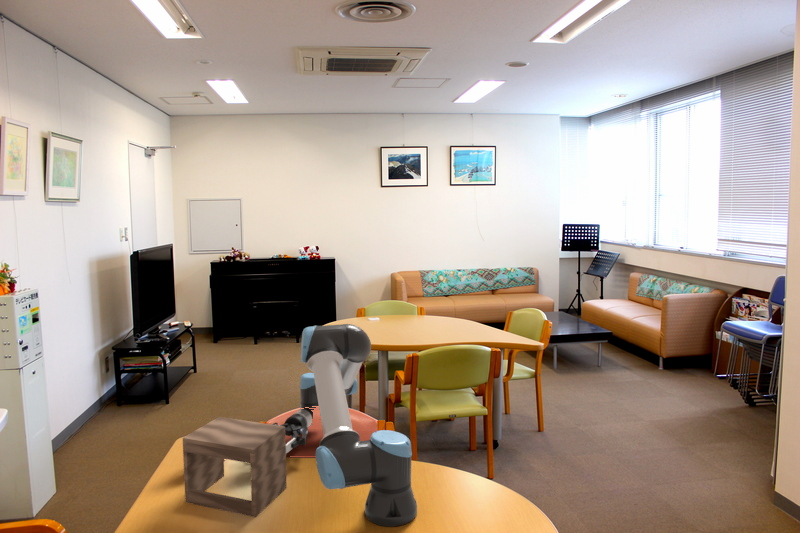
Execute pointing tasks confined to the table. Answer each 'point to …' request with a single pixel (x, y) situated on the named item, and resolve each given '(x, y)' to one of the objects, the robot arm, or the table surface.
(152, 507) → the table surface
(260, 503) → the walnut cubby
